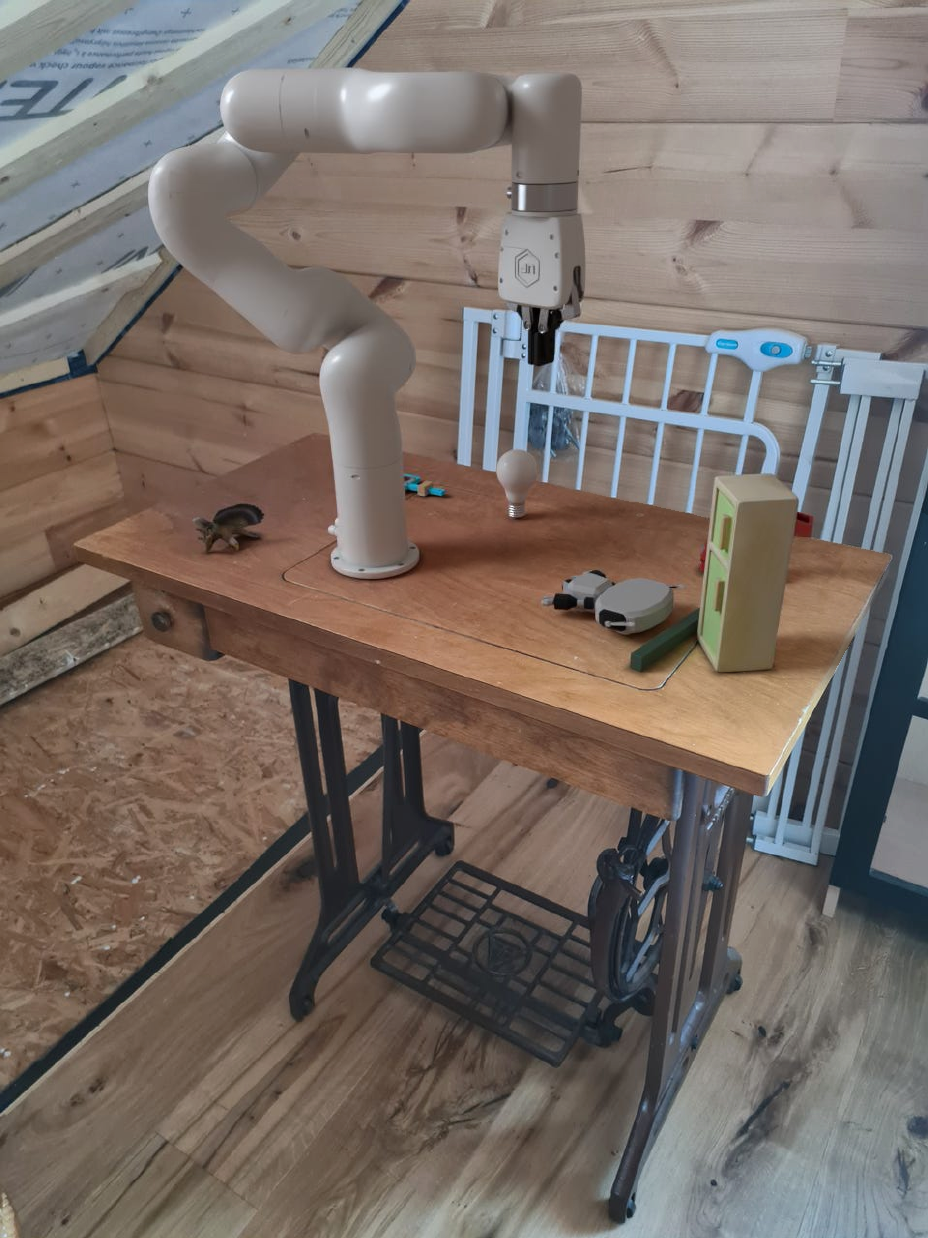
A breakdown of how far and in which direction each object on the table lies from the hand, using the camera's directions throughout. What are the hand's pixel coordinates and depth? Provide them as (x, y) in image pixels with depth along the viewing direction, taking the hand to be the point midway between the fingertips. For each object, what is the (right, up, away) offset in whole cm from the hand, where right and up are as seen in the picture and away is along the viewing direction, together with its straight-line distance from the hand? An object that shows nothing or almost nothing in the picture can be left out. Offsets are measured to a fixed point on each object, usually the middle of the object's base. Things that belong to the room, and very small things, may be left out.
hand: (540, 362), depth 113 cm
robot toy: (+9, -31, +4) cm, 33 cm away
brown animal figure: (-44, -21, +25) cm, 55 cm away
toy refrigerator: (+22, -36, -4) cm, 42 cm away
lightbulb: (-1, -16, +32) cm, 35 cm away
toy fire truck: (+30, -26, +13) cm, 41 cm away
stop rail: (+16, -34, -2) cm, 38 cm away
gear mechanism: (-22, -9, +43) cm, 49 cm away
